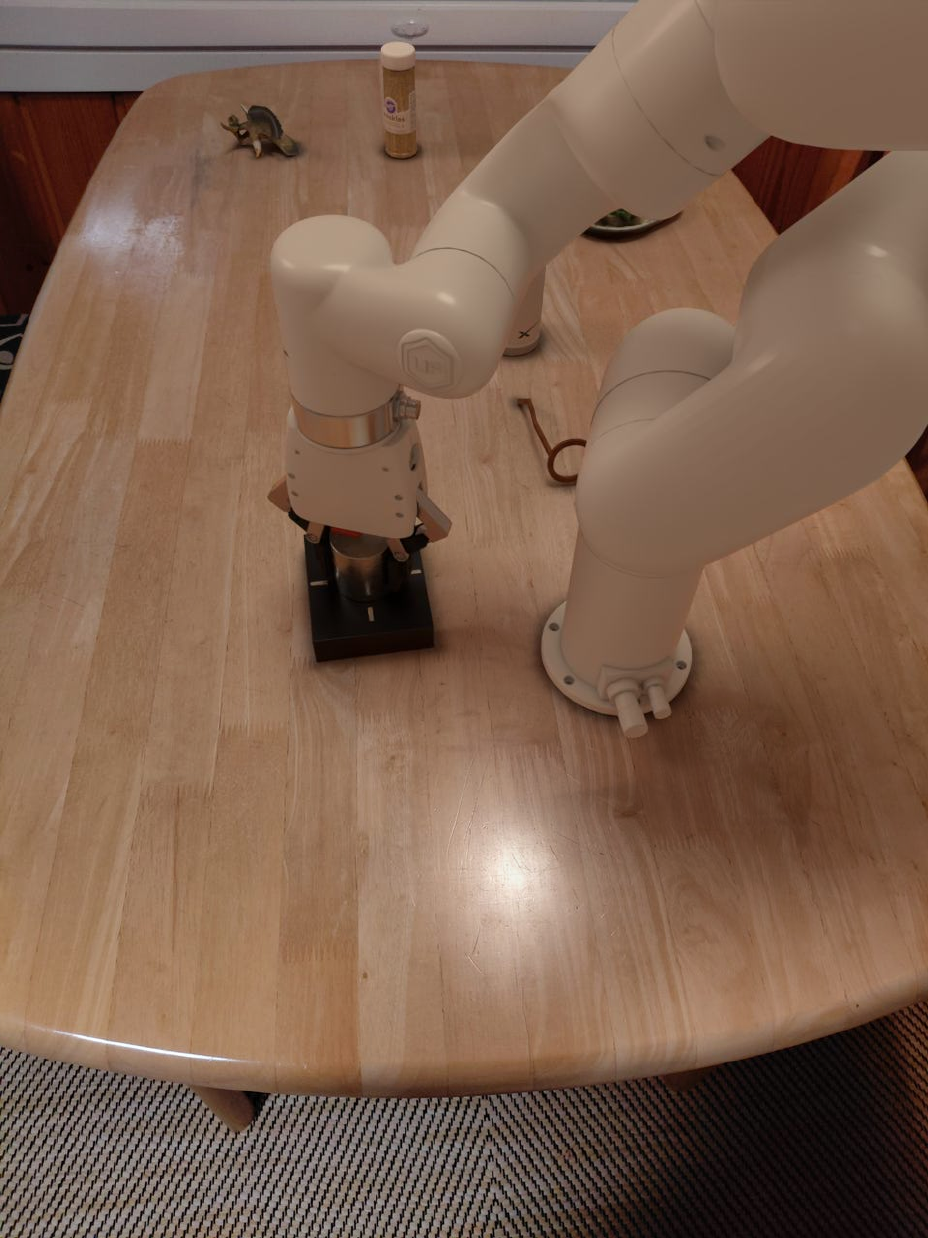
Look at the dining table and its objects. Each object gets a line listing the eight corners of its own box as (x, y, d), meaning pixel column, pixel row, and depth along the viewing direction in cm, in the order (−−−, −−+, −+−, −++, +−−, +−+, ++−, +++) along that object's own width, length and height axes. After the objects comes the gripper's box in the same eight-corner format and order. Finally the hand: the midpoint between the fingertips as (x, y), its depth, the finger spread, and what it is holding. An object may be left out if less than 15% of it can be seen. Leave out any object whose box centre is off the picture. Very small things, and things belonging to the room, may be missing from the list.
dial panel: (434, 647, 79) (434, 625, 77) (316, 662, 78) (312, 640, 75) (415, 543, 86) (414, 520, 84) (307, 556, 85) (303, 532, 83)
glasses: (547, 488, 91) (551, 450, 87) (516, 402, 99) (519, 363, 95) (674, 471, 93) (685, 432, 89) (634, 388, 100) (642, 349, 96)
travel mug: (537, 360, 103) (554, 183, 87) (479, 352, 104) (484, 175, 88) (545, 327, 107) (563, 152, 91) (489, 319, 107) (496, 144, 92)
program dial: (404, 562, 81) (401, 516, 76) (385, 607, 78) (381, 562, 73) (347, 550, 82) (341, 503, 77) (326, 594, 79) (319, 548, 74)
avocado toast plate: (624, 152, 132) (629, 118, 128) (715, 206, 123) (723, 172, 120) (517, 192, 125) (519, 157, 121) (605, 253, 116) (610, 217, 113)
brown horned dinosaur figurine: (222, 155, 128) (283, 149, 125) (216, 97, 125) (277, 90, 123) (248, 163, 135) (305, 158, 132) (242, 108, 132) (300, 101, 130)
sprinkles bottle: (380, 155, 131) (374, 51, 120) (393, 141, 133) (388, 37, 122) (410, 161, 130) (407, 56, 119) (422, 147, 132) (420, 43, 122)
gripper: (479, 390, 66) (474, 560, 80) (253, 349, 68) (287, 521, 82) (451, 461, 61) (451, 627, 76) (210, 414, 64) (254, 584, 78)
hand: (365, 570), depth 79 cm, fingers closed on program dial, 5 cm apart
